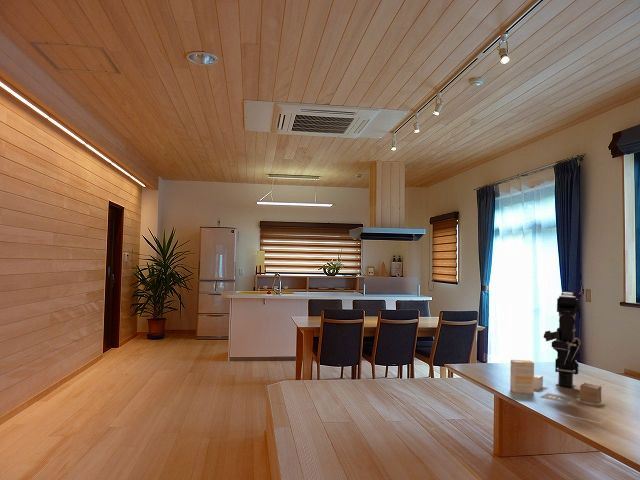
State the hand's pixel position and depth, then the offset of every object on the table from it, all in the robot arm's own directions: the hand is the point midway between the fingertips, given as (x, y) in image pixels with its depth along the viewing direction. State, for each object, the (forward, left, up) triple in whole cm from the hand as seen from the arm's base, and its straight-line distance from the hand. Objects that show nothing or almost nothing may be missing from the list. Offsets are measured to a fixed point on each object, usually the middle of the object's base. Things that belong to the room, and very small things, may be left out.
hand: (566, 363), depth 201 cm
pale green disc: (+4, +10, -12) cm, 17 cm away
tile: (+1, -12, -12) cm, 17 cm away
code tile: (+11, 0, -12) cm, 17 cm away
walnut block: (+4, +10, -12) cm, 17 cm away
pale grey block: (+1, -12, -12) cm, 17 cm away
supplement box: (+13, -13, -13) cm, 22 cm away
